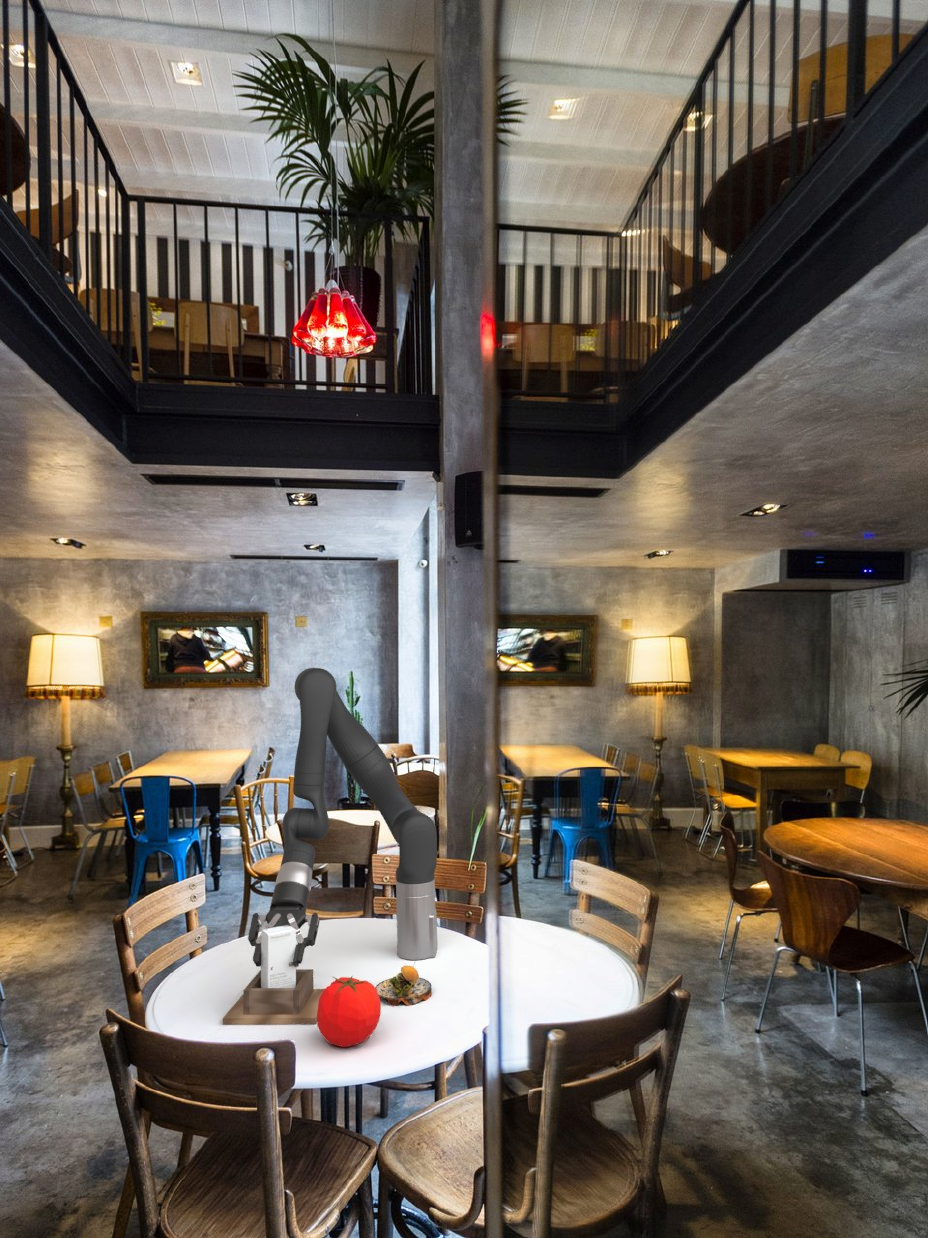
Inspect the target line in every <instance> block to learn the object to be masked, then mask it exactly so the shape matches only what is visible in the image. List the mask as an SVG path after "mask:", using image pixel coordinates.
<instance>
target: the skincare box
mask: <svg viewBox="0 0 928 1238" xmlns="http://www.w3.org/2000/svg"><path fill="white" fill-rule="evenodd" d="M260 933H261V934H260V935H261V966H260V970H261V988H295V987H296V969H297V967H294V964H293V958H294V953H295V948H296V944H297V940H296V929H294V928H293V927H291V926H290V925H286V926H279V927H273V928H269V929H261V932H260Z"/></svg>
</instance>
